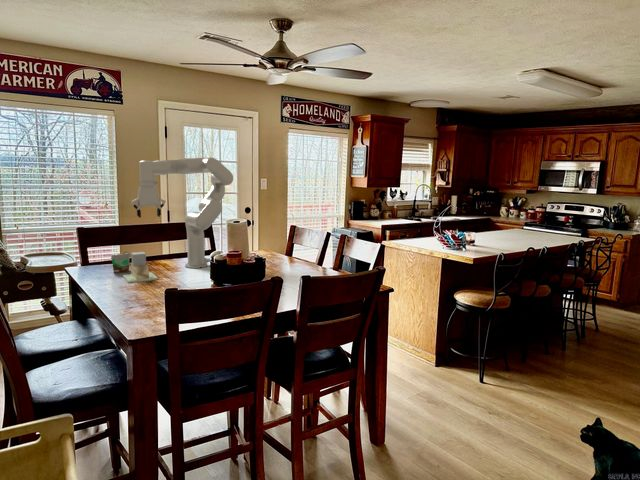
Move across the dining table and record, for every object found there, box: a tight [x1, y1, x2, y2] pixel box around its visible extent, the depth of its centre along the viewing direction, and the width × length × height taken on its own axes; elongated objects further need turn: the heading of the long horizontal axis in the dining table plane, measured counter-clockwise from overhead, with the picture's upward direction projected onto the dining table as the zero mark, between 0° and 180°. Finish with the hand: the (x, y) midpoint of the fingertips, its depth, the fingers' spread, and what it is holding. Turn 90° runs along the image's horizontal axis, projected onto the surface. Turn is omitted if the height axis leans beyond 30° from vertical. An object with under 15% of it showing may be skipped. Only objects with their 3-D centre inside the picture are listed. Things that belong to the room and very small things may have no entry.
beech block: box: [130, 262, 150, 279], centre depth 226 cm, size 6×12×6 cm, turn 34°
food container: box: [110, 250, 132, 274], centre depth 240 cm, size 12×6×10 cm, turn 168°
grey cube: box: [130, 251, 147, 266], centre depth 225 cm, size 6×6×6 cm
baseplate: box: [122, 271, 158, 284], centre depth 226 cm, size 14×14×1 cm
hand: (149, 216), depth 234 cm, fingers open, 9 cm apart
